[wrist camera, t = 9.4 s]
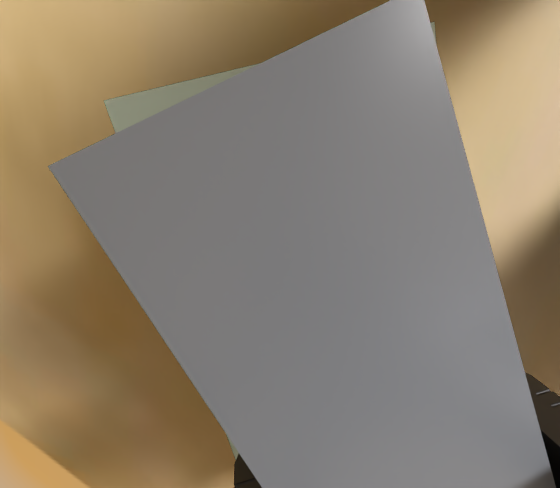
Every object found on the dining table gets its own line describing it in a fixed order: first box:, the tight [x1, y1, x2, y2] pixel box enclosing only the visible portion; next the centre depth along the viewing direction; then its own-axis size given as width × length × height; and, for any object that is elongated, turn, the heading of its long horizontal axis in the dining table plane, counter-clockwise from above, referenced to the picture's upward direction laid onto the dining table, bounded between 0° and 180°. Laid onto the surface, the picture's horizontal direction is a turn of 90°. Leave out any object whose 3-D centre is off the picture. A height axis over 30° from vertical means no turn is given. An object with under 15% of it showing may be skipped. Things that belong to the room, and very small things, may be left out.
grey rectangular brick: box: [48, 0, 556, 488], centre depth 9 cm, size 5×18×5 cm, turn 25°
